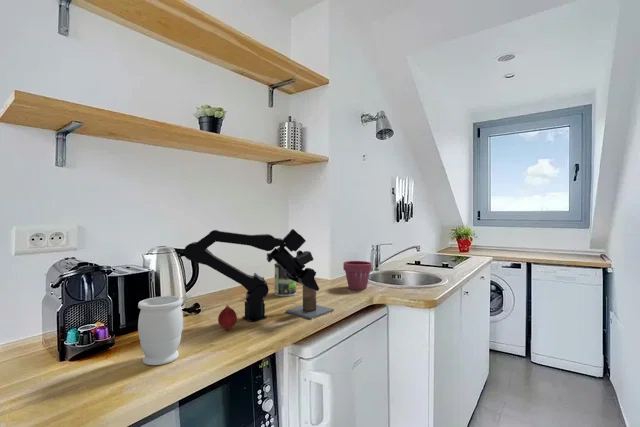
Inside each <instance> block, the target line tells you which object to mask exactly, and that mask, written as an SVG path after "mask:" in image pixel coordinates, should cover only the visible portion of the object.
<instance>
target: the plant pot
mask: <svg viewBox="0 0 640 427" xmlns="http://www.w3.org/2000/svg"><path fill="white" fill-rule="evenodd" d="M372 264H373V263H372V262H369V261H363V260H350V261H349V260H348V261H344V262H343V264H342V265H343V271H344V272H345V276H346V283H347V285H348V288H349V289H350V290H357V291H358V290H360V291H361V290H366V289H367V288H368V283H369V278H370V273H371V272H372V270H373V265H372Z"/></svg>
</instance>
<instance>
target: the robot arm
mask: <svg viewBox="0 0 640 427" xmlns="http://www.w3.org/2000/svg"><path fill="white" fill-rule="evenodd" d="M216 242H218V243H225V244H234V245H241V246H242V245H243V246H250V247H252V248H256V249H258V250H262V251H265V252H269V253H266V260H267V263H271V262H272V261H273V260H274V262H275V263H278V264H279V265H280V266H281V268H282V269H283V270H284V275H285V276H286V277H287V278H289V279H291V280H293V281H295V282H296V283H297V284H298V283H299V284H301V285H302V287H303V286H306V287H308V288H311V289H314V290H316V292H319V290H320V287H319V285H318V284H317V280H316V279H315V277H316V275H317V272H316V270H314V268H310V267H306V264H308V263H310V262H312V261H314V257H313V255H312V253H311V251H308V250H305V251H302V250H300V248H301V247H302V246H303V245H304V244H305V243H306V242H307V240H306V239H305V238H304V237H303V236H302V235H301V234H299V232H298V231H296V230H295V229H294V228H292V229H291V230H290V231H289V232H288V233H287V234H286V235H285V236H284V237H283V238H281V237H279V238H278V237H277V238H276V237H275V236H273V235H271V234H269V233H263V234H262V233H261V234H247V233H245V234H244V233H238V232H229V231H221V230H218V229H213V230H211V231H210V232H208V234H207V235H205V236H204V237H203V238H201V239H199V240H198V241H193V242H191V243H189V244H187V245H186V246H185V247H184V249H183V256H184V258H185V259H186V260H189V261H190V262H191V261H192V262H193V263H197V264H201V265H205V266H207V267H210V268H211V269H213V270H214V271H217V272H218V273H220V274H222V275H223V276H226V277H227V278H229V279H231V280H233V281H234V282H235V283H238V284H240V285H241V286H242V287H244V288H245V290H246V292H245V299H246V301H244V315H243V316H241V318H242V320H243V319H244V320H245V321H246V320H247V321H249V322H252V323H253V322H257V321H259V320H263V319H265V318H267V317H268V315H265V314H266V313H265V312H266V305H265V304H266V303H265V301H264V300H265V299H264V298H265V297H267V295H268V294H269V290H270V289H269V286H268V285H269V284H268V283H267V280H265V277H264V276H260V275H259V274H257V273H256V272H254V273H253V275H251V274H247V273H245V272H244V271H243V270H240V269H238V268H237V267H235V266H233V265H232V264H230V263H228V262H227V261H225V260H223V259H221V258H219V257H218V256H216V255H214V253H212V252H211V251H210V249H208V248H209V247H210V246H212V245H213V244H215V243H216ZM276 247H277V248H276ZM285 247H286V248H287V249H288V250H287V249H286V248H285ZM270 251H271V252H270ZM290 252H291V253H292V252H296V255H295V256H293V255H292V254H291V253H290ZM305 267H306V268H305ZM315 280H316V281H315Z"/></svg>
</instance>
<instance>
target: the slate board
mask: <svg viewBox="0 0 640 427" xmlns="http://www.w3.org/2000/svg"><path fill="white" fill-rule="evenodd" d="M332 311H333V312H334V311H335V309H334V308H332V307H327V306H324V305H323V306H322V305H318V304H316V311H312V312H306V311H303V304H301V305H298V306H296V307H292V308H288V309H285V313H287V314H289V315H290V314H291V315H295V316H298V317H302V318H304V317H305V318H306V319H308V318H309V320H313V319H312V318H314V319H316V318H319V317H322V316H324V315H323V314H325V315H327V314H330V313H333V312H332ZM329 312H330V313H329ZM326 313H327V314H326ZM321 315H322V316H321ZM318 316H319V317H318ZM315 317H316V318H315ZM305 318H304V319H305Z"/></svg>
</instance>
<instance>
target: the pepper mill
mask: <svg viewBox="0 0 640 427" xmlns="http://www.w3.org/2000/svg"><path fill="white" fill-rule="evenodd" d="M315 281H316V282H317V280H316V279H315ZM302 305H303V311H306V312H312V311H316V305H317V291H316V290H314V289H311V288H308V287H306V286H303V285H302Z"/></svg>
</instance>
